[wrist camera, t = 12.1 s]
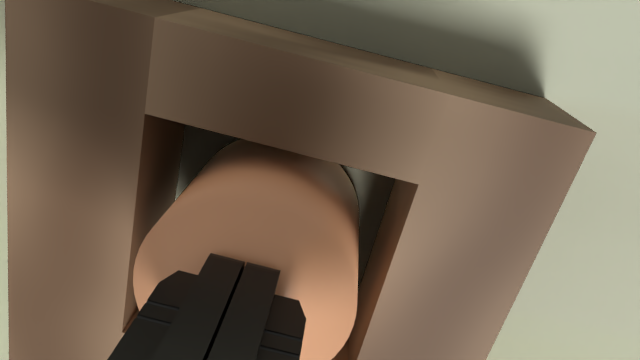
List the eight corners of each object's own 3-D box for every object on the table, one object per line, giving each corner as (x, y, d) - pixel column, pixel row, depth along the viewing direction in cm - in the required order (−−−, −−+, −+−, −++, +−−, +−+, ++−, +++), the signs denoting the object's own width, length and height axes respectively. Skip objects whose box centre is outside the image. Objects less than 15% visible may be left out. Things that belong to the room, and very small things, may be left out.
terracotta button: (380, 159, 13) (385, 230, 10) (335, 302, 15) (326, 406, 11) (205, 114, 13) (144, 168, 10) (182, 263, 15) (123, 356, 11)
